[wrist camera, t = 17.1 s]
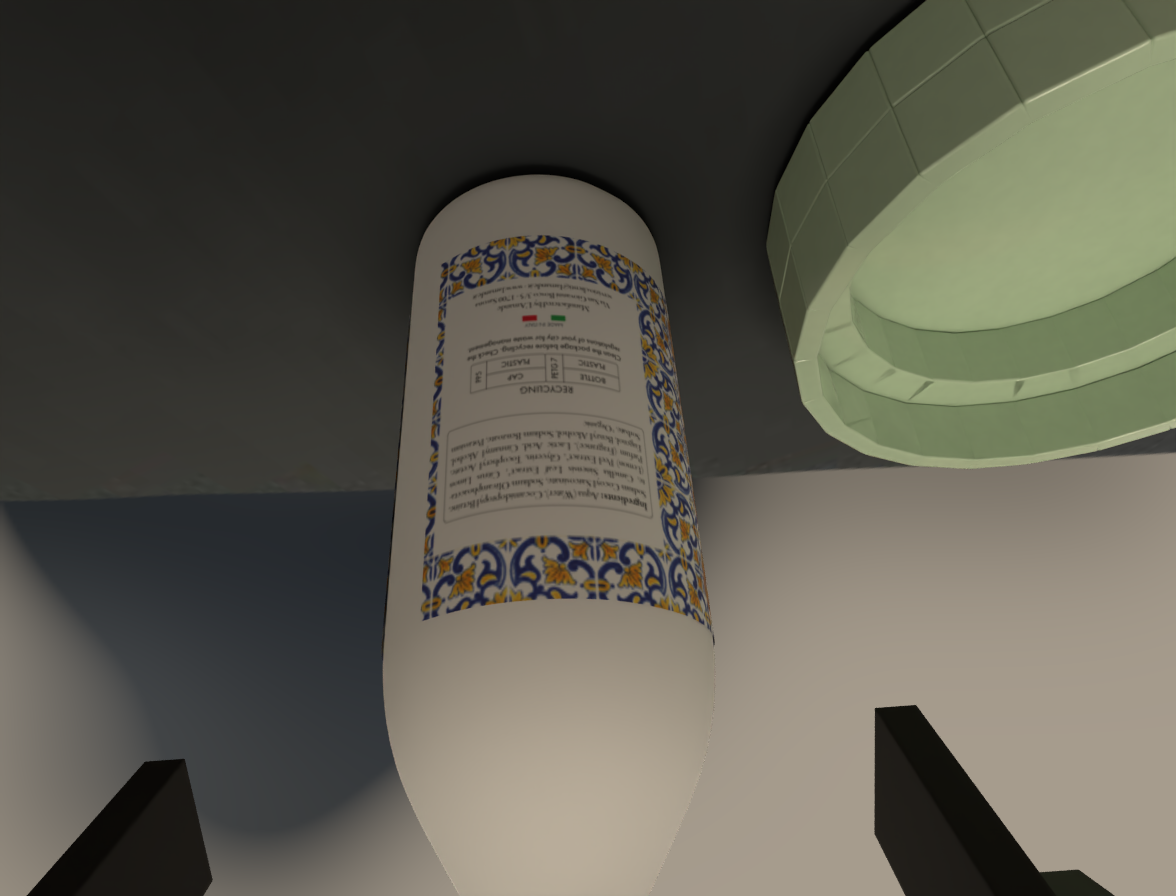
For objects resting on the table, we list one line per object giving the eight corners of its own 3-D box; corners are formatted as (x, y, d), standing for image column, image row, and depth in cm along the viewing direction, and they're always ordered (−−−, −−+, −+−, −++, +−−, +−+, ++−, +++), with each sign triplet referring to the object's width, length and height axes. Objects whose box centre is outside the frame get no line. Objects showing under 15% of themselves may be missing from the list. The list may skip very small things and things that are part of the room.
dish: (796, 397, 29) (821, 504, 27) (720, 23, 17) (754, 160, 15) (1267, 291, 26) (1344, 404, 23) (1615, -294, 13) (1857, -177, 11)
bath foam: (574, 363, 27) (618, 1124, 16) (379, 293, 23) (277, 1198, 13) (707, 231, 22) (890, 1188, 12) (487, 117, 19) (462, 1334, 8)
